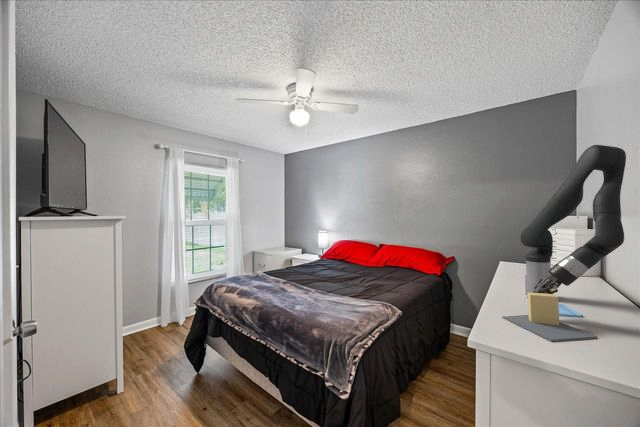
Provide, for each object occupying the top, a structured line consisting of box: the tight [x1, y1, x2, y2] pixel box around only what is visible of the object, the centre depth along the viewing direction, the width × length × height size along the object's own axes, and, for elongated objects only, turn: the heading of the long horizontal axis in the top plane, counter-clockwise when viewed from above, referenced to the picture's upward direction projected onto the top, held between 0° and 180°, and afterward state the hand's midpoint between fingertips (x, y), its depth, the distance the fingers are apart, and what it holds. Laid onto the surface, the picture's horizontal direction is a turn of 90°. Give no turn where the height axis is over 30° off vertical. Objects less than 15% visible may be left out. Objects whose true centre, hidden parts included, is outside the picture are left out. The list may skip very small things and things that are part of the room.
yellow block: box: [527, 292, 560, 325], centre depth 97 cm, size 8×4×10 cm, turn 65°
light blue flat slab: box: [558, 303, 584, 318], centre depth 110 cm, size 14×12×1 cm
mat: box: [501, 314, 598, 342], centre depth 94 cm, size 20×16×1 cm
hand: (529, 299), depth 105 cm, fingers closed
